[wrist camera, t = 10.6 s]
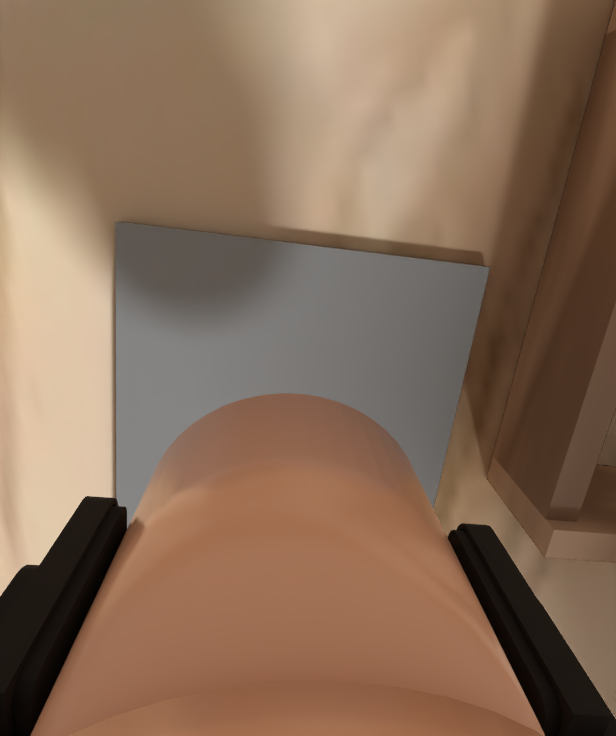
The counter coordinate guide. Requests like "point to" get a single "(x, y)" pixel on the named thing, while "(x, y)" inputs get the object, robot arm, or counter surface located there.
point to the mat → (284, 339)
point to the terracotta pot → (286, 595)
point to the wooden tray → (570, 357)
